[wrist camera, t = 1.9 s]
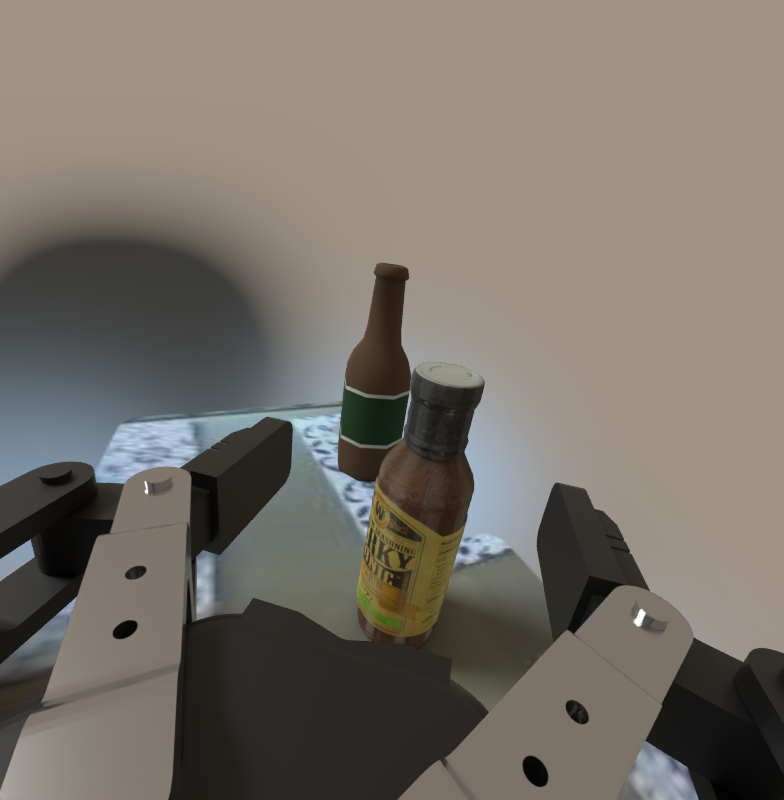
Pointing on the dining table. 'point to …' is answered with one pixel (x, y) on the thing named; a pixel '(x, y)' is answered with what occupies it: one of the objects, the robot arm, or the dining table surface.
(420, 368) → the sauce bottle
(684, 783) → the dining table surface
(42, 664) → the dining table surface
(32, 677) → the dining table surface
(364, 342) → the beer bottle
